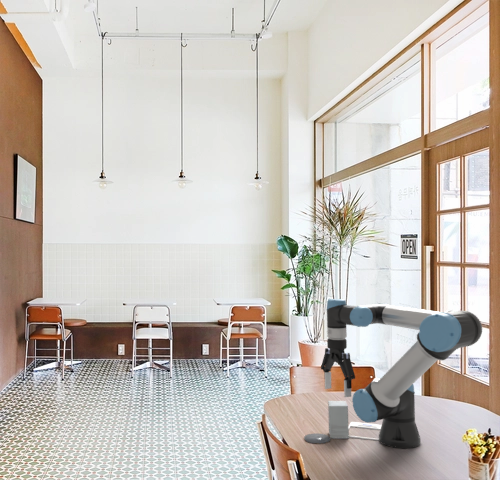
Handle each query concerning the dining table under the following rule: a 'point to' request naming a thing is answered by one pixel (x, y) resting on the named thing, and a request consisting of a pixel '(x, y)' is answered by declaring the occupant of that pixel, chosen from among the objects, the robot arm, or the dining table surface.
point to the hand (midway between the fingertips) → (337, 392)
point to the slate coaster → (317, 438)
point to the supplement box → (338, 419)
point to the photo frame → (367, 426)
